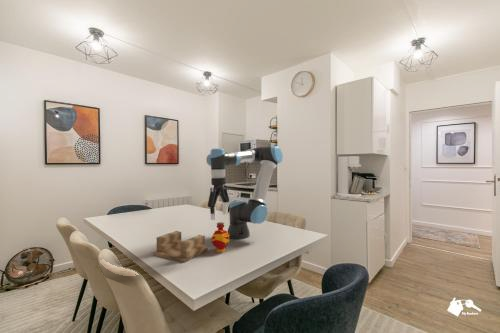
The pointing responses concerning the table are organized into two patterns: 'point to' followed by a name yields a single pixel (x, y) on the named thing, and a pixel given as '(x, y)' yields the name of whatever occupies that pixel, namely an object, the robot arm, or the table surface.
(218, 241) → the potion bottle
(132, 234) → the table surface
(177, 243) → the notched wooden block
